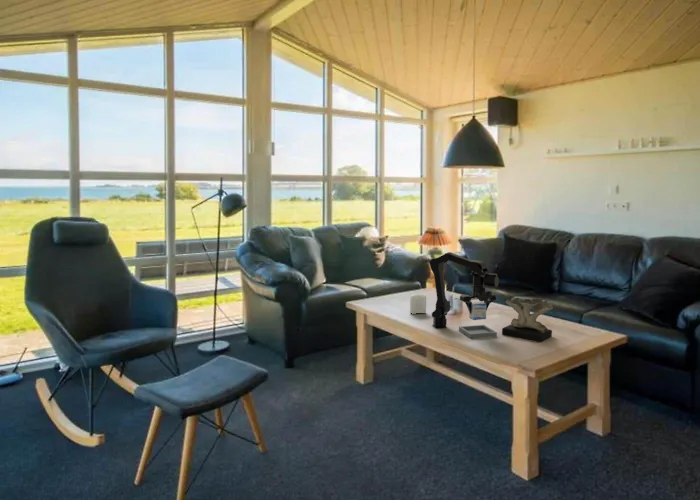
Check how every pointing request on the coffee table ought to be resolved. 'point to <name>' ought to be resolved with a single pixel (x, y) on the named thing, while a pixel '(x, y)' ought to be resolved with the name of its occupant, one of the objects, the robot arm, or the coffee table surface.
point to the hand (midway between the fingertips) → (477, 313)
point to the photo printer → (417, 303)
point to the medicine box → (478, 311)
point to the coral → (528, 320)
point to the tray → (477, 331)
